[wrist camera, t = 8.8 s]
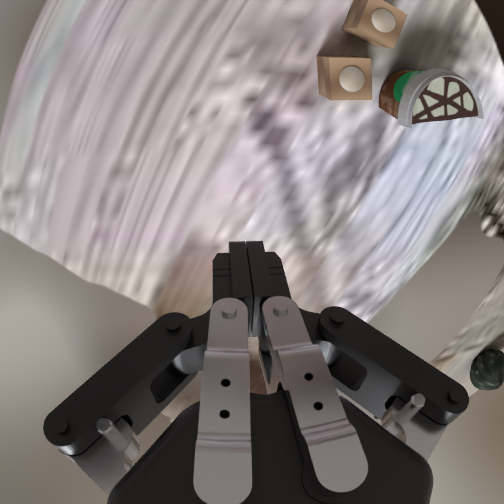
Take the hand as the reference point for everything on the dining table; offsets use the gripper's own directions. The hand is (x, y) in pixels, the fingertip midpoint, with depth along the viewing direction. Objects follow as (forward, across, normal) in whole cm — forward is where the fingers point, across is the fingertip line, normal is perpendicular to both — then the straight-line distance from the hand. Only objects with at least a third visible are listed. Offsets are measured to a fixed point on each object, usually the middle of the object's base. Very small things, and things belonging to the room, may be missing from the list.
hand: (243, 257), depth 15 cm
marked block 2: (+28, -16, -15) cm, 35 cm away
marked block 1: (+28, -13, -7) cm, 32 cm away
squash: (+26, -84, +66) cm, 110 cm away
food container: (+28, -23, -7) cm, 37 cm away
